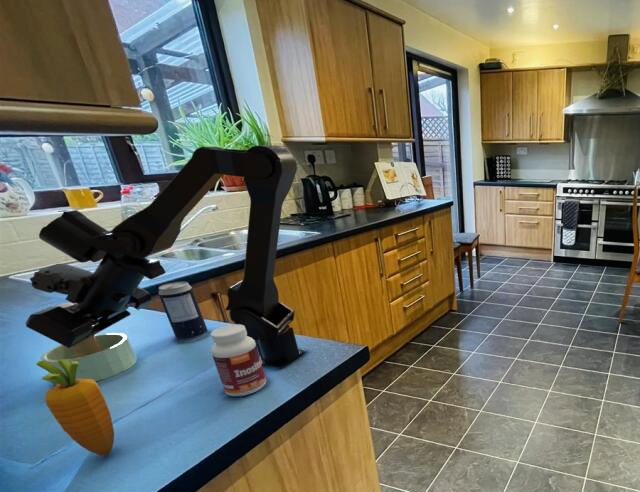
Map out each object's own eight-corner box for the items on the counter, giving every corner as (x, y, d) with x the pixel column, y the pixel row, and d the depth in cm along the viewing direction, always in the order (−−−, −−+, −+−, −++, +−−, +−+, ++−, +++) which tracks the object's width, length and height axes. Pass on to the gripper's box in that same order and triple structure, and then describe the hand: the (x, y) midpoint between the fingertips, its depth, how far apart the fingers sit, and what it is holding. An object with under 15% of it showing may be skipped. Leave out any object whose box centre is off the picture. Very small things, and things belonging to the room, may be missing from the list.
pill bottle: (244, 400, 66) (224, 340, 61) (216, 394, 67) (194, 336, 63) (275, 380, 71) (258, 324, 66) (249, 375, 73) (230, 320, 68)
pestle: (122, 364, 76) (91, 301, 71) (92, 377, 72) (57, 311, 67) (103, 361, 77) (72, 299, 72) (73, 374, 73) (37, 309, 68)
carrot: (139, 447, 56) (91, 352, 50) (96, 472, 51) (38, 372, 45) (116, 439, 57) (67, 347, 51) (72, 463, 53) (13, 365, 47)
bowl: (153, 361, 78) (142, 335, 76) (85, 392, 69) (70, 365, 66) (111, 355, 81) (99, 330, 79) (39, 384, 71) (24, 357, 69)
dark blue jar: (214, 331, 91) (197, 281, 86) (194, 343, 85) (174, 290, 81) (191, 330, 91) (172, 280, 86) (170, 342, 86) (148, 289, 81)
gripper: (108, 236, 74) (70, 296, 77) (6, 264, 57) (-38, 338, 61) (169, 274, 78) (131, 329, 82) (91, 310, 61) (46, 378, 65)
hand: (75, 341), depth 72 cm, fingers closed on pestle, 3 cm apart
